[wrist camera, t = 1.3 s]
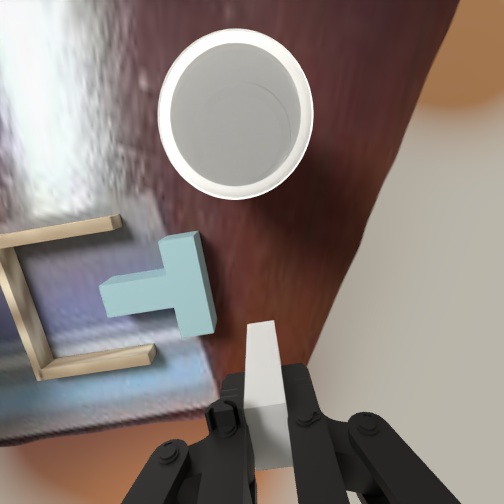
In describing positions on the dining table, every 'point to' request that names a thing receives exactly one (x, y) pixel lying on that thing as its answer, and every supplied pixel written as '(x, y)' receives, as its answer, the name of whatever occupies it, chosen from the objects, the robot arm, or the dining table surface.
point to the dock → (27, 320)
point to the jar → (235, 114)
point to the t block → (168, 287)
